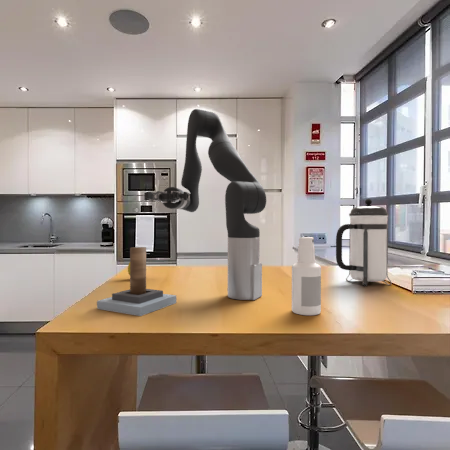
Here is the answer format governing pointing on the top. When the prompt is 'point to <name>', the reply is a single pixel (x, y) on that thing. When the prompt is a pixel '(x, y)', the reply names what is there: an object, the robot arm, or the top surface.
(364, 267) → the coffee press
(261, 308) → the top surface
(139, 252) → the peg
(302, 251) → the spray bottle
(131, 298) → the socket
